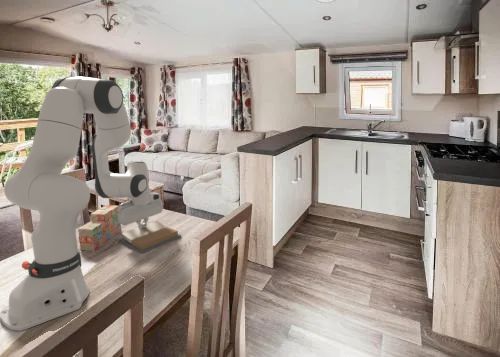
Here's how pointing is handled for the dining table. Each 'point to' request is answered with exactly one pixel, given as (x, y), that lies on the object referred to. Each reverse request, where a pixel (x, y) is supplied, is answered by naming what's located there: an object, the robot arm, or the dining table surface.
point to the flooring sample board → (152, 240)
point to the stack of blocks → (99, 228)
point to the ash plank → (142, 231)
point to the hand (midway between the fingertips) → (142, 227)
